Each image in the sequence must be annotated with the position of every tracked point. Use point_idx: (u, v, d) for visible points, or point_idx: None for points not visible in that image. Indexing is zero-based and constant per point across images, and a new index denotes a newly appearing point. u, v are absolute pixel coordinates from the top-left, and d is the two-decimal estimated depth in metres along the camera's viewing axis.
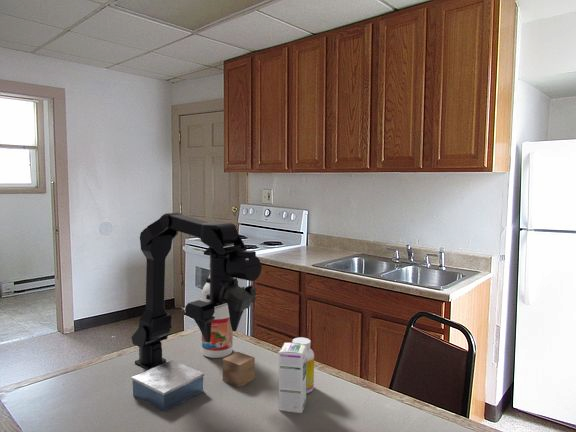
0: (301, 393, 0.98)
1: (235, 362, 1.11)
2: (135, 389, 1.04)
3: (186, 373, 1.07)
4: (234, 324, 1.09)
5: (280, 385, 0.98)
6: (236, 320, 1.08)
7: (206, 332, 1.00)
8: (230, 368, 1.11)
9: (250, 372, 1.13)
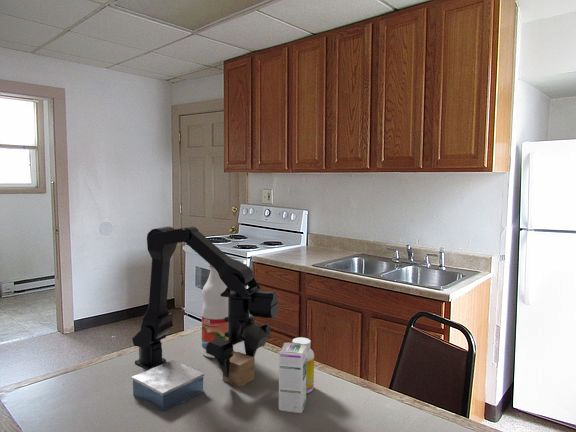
0: (301, 393, 0.98)
1: (235, 362, 1.11)
2: (135, 389, 1.04)
3: (186, 373, 1.07)
4: None
5: (280, 385, 0.98)
6: (251, 354, 1.17)
7: (225, 368, 1.09)
8: (230, 368, 1.11)
9: (250, 372, 1.13)
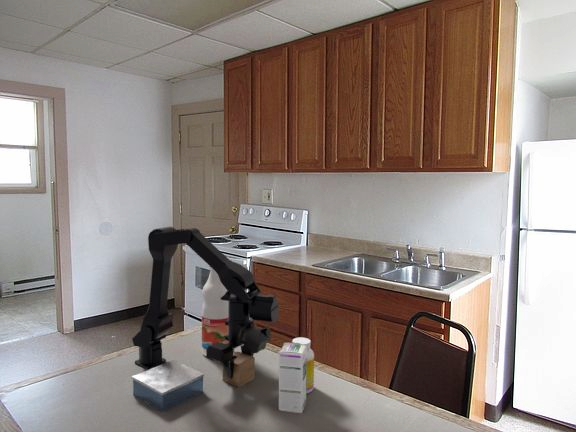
0: (301, 393, 0.98)
1: (235, 362, 1.11)
2: (135, 388, 1.04)
3: (186, 373, 1.07)
4: None
5: (280, 385, 0.98)
6: None
7: (229, 370, 1.10)
8: None
9: (250, 372, 1.13)
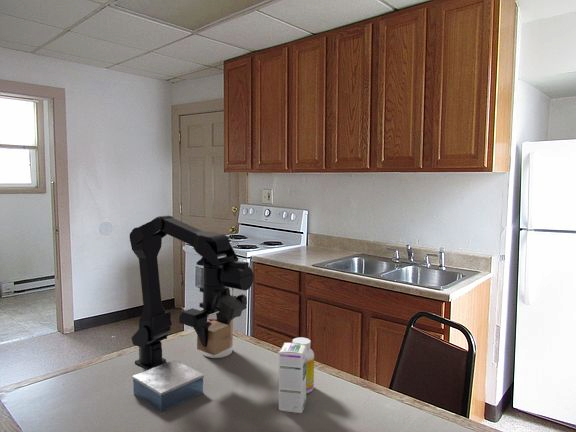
0: (301, 393, 0.98)
1: (210, 329, 1.07)
2: (135, 388, 1.05)
3: (186, 374, 1.06)
4: None
5: (280, 385, 0.98)
6: None
7: (203, 337, 1.06)
8: None
9: (226, 340, 1.09)
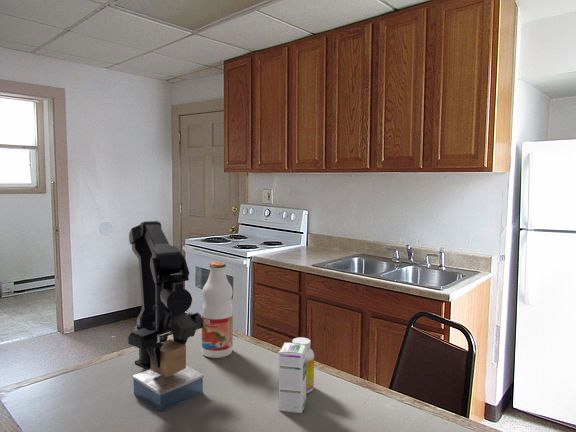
0: (301, 393, 0.98)
1: (162, 350, 1.02)
2: (135, 388, 1.05)
3: (186, 374, 1.06)
4: None
5: (280, 385, 0.98)
6: None
7: (155, 358, 1.01)
8: None
9: (180, 361, 1.05)
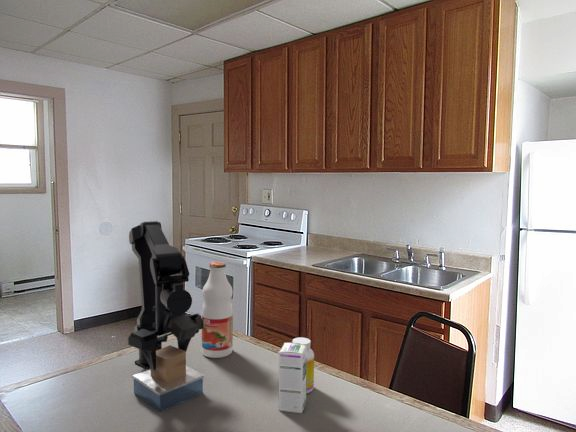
0: (301, 393, 0.98)
1: (162, 356, 1.02)
2: (135, 387, 1.05)
3: (186, 374, 1.06)
4: None
5: (280, 385, 0.98)
6: (183, 347, 1.08)
7: (151, 361, 1.00)
8: (157, 363, 1.03)
9: (180, 367, 1.05)
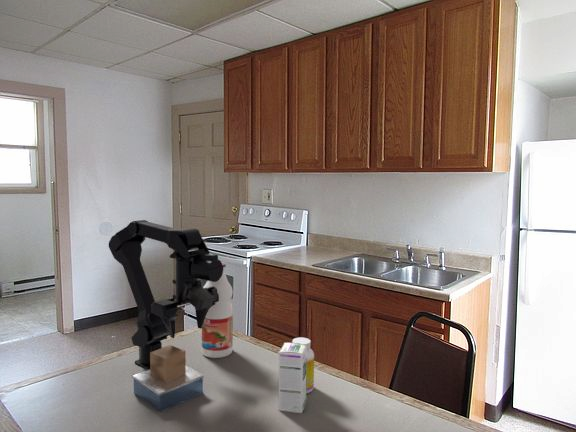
0: (301, 393, 0.98)
1: (162, 356, 1.03)
2: (135, 388, 1.05)
3: (186, 374, 1.06)
4: (199, 322, 1.18)
5: (280, 385, 0.98)
6: (201, 318, 1.17)
7: (170, 328, 1.09)
8: (157, 362, 1.03)
9: (180, 366, 1.05)
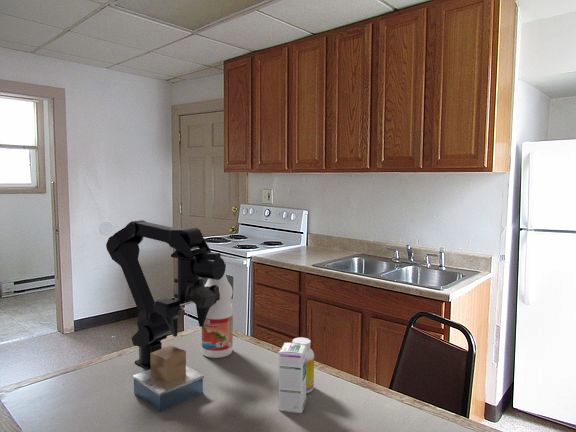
0: (301, 393, 0.98)
1: (163, 356, 1.03)
2: (136, 388, 1.05)
3: (186, 374, 1.06)
4: (201, 321, 1.19)
5: (280, 385, 0.98)
6: (203, 316, 1.18)
7: (173, 327, 1.10)
8: (158, 363, 1.03)
9: (180, 367, 1.05)
